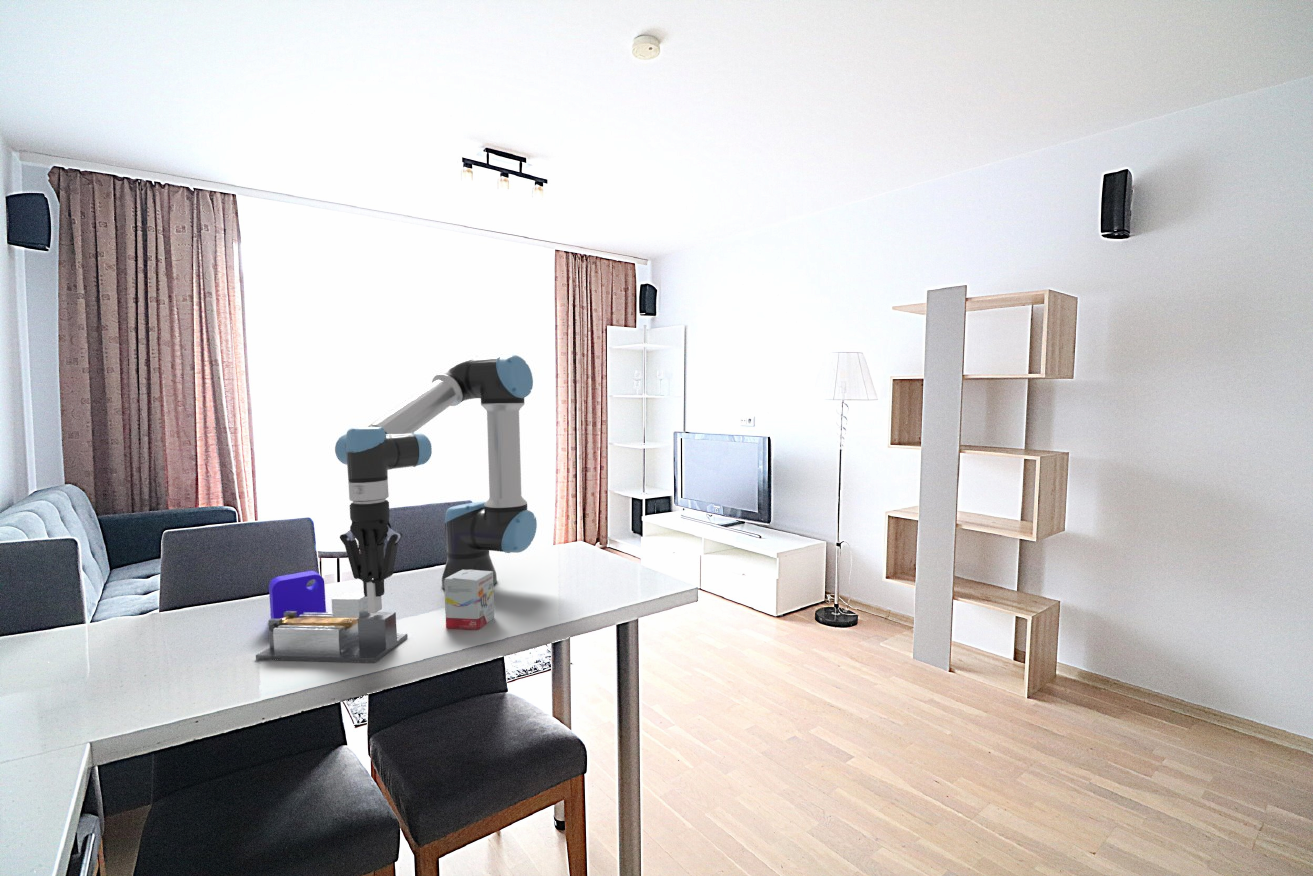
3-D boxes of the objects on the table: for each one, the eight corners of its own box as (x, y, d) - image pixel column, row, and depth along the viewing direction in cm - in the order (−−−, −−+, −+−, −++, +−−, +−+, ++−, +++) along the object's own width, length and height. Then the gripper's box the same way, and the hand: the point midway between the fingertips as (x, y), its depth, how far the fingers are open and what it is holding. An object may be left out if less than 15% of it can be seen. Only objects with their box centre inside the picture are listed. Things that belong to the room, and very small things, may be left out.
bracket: (326, 620, 150) (323, 573, 150) (274, 632, 144) (271, 582, 143) (310, 602, 164) (308, 559, 164) (262, 612, 157) (259, 567, 157)
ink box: (478, 630, 141) (476, 579, 141) (444, 628, 143) (442, 578, 142) (495, 617, 150) (494, 569, 149) (463, 615, 152) (461, 568, 151)
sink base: (298, 635, 141) (296, 603, 140) (407, 638, 138) (405, 605, 137) (255, 659, 128) (253, 624, 127) (374, 662, 125) (373, 627, 124)
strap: (282, 624, 135) (281, 616, 135) (359, 624, 133) (358, 615, 133) (272, 629, 132) (271, 621, 132) (351, 629, 130) (350, 620, 130)
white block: (344, 611, 134) (343, 593, 134) (370, 611, 133) (369, 593, 133) (332, 617, 130) (331, 599, 130) (359, 618, 129) (358, 599, 129)
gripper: (328, 504, 127) (335, 616, 128) (388, 503, 125) (394, 618, 127) (351, 498, 134) (357, 604, 136) (407, 497, 132) (413, 605, 134)
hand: (375, 610), depth 131 cm, fingers closed
